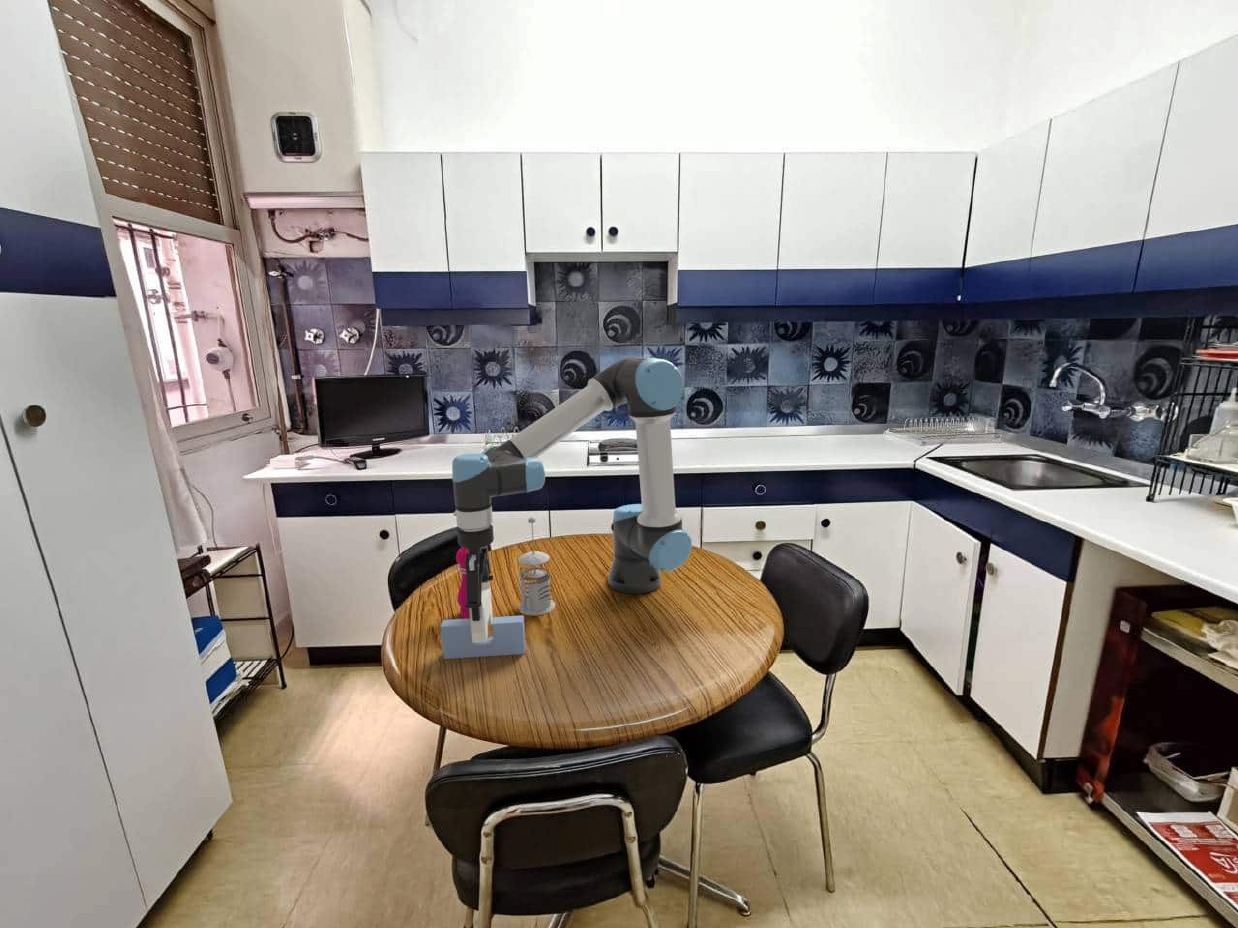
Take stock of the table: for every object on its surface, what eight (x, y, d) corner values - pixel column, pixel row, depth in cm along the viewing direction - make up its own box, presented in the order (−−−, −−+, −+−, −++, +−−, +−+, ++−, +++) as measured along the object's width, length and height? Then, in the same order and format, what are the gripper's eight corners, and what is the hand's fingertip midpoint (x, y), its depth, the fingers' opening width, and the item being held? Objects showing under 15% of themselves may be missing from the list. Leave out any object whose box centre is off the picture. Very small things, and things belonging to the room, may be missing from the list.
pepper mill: (479, 621, 138) (473, 547, 134) (453, 618, 140) (446, 545, 135) (491, 607, 145) (486, 536, 140) (466, 605, 146) (460, 535, 142)
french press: (562, 601, 148) (558, 513, 142) (538, 621, 137) (533, 528, 132) (531, 595, 152) (526, 509, 146) (506, 614, 141) (499, 523, 136)
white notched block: (479, 619, 128) (477, 588, 126) (492, 619, 128) (490, 587, 126) (472, 642, 118) (469, 609, 116) (486, 642, 118) (483, 608, 116)
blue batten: (525, 646, 127) (523, 615, 125) (524, 653, 124) (522, 622, 122) (446, 651, 125) (443, 619, 123) (443, 658, 122) (440, 626, 120)
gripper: (466, 510, 128) (473, 596, 133) (445, 546, 106) (454, 648, 111) (499, 509, 129) (504, 595, 134) (484, 544, 107) (491, 646, 112)
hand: (482, 619), depth 122 cm, fingers closed on white notched block, 10 cm apart
